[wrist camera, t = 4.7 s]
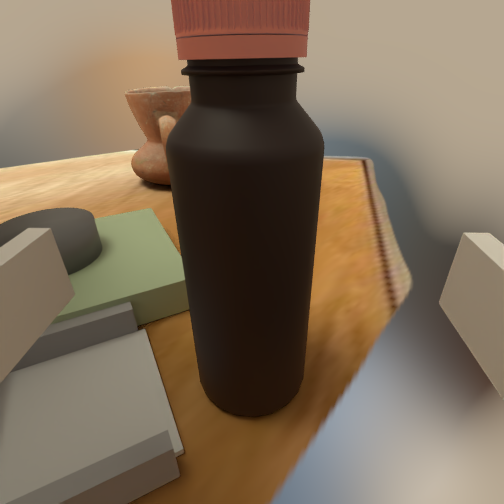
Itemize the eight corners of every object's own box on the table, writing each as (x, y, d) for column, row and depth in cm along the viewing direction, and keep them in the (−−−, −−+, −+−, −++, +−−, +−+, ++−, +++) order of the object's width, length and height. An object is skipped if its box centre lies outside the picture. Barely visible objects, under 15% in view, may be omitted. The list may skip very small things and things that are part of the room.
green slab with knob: (-271, 709, 11) (-487, 671, 8) (-49, 275, 32) (-82, 220, 29) (267, 430, 18) (268, 355, 15) (155, 230, 40) (146, 183, 37)
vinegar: (240, 322, 26) (224, 6, 16) (320, 359, 22) (367, -11, 12) (177, 384, 21) (96, -14, 11) (268, 443, 18) (274, -51, 7)
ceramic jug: (143, 167, 64) (128, 85, 57) (218, 163, 65) (212, 83, 58) (124, 201, 48) (99, 95, 41) (222, 195, 50) (215, 91, 43)
